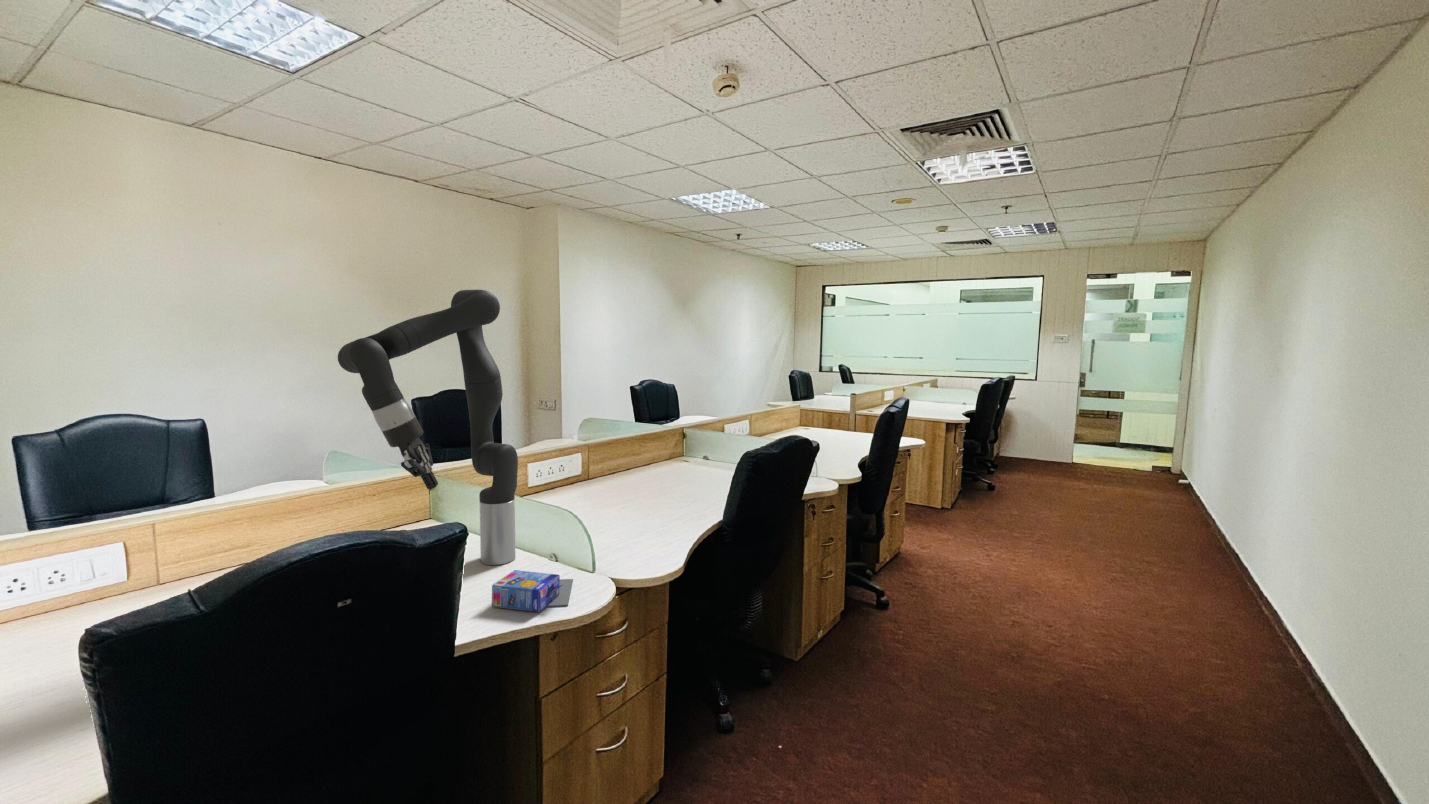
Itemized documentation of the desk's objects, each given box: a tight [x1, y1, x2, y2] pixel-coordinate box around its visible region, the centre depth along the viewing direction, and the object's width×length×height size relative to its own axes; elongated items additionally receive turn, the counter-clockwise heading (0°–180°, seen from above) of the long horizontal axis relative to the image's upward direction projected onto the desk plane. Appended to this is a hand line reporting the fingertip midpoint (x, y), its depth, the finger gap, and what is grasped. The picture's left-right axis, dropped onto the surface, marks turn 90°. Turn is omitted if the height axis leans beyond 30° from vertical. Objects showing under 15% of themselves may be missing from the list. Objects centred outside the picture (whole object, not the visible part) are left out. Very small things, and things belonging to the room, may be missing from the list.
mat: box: [545, 578, 574, 608], centre depth 137 cm, size 15×12×1 cm
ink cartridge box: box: [491, 569, 563, 613], centre depth 132 cm, size 10×6×14 cm
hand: (433, 487), depth 133 cm, fingers closed
